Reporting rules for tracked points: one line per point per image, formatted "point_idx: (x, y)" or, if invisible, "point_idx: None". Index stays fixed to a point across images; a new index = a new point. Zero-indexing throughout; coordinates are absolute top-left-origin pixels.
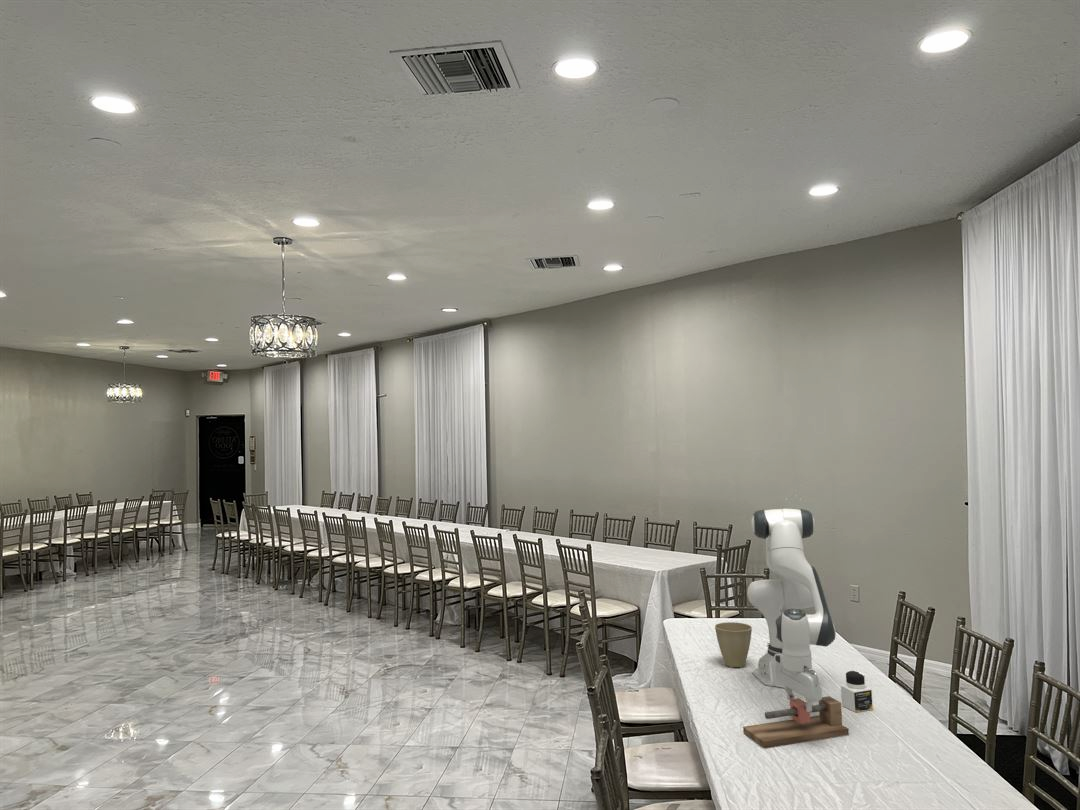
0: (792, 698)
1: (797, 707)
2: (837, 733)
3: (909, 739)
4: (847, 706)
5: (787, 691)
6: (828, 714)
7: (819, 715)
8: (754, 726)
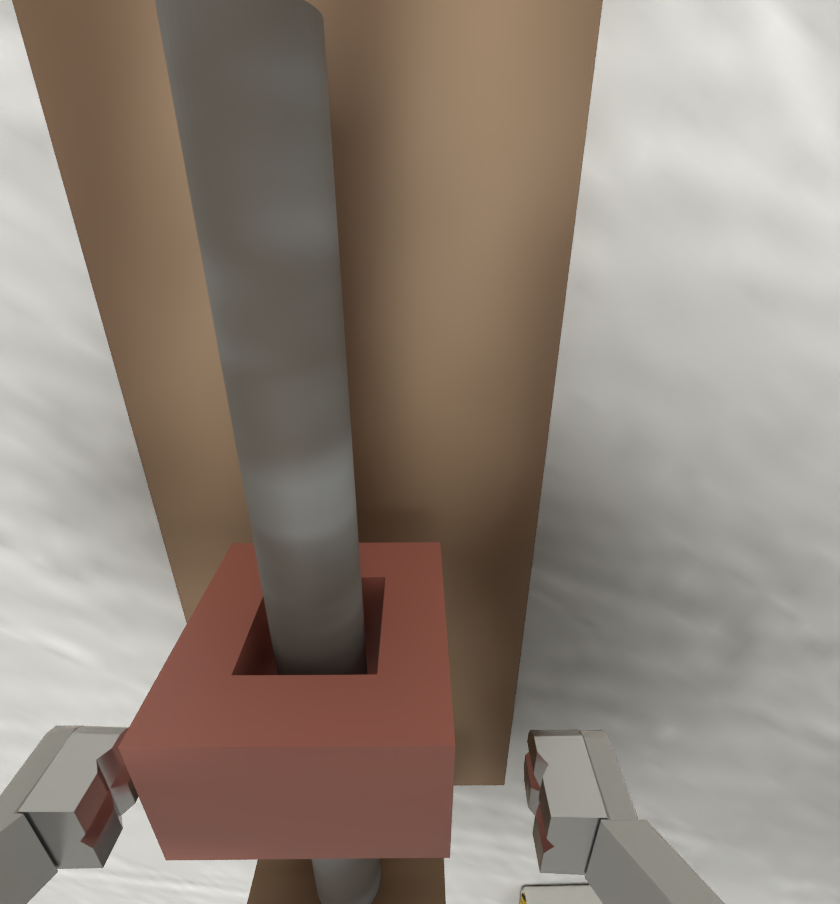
0: (532, 790)
1: (216, 692)
2: None
3: (142, 899)
4: (590, 898)
5: (649, 889)
6: None
7: None
8: (548, 4)
